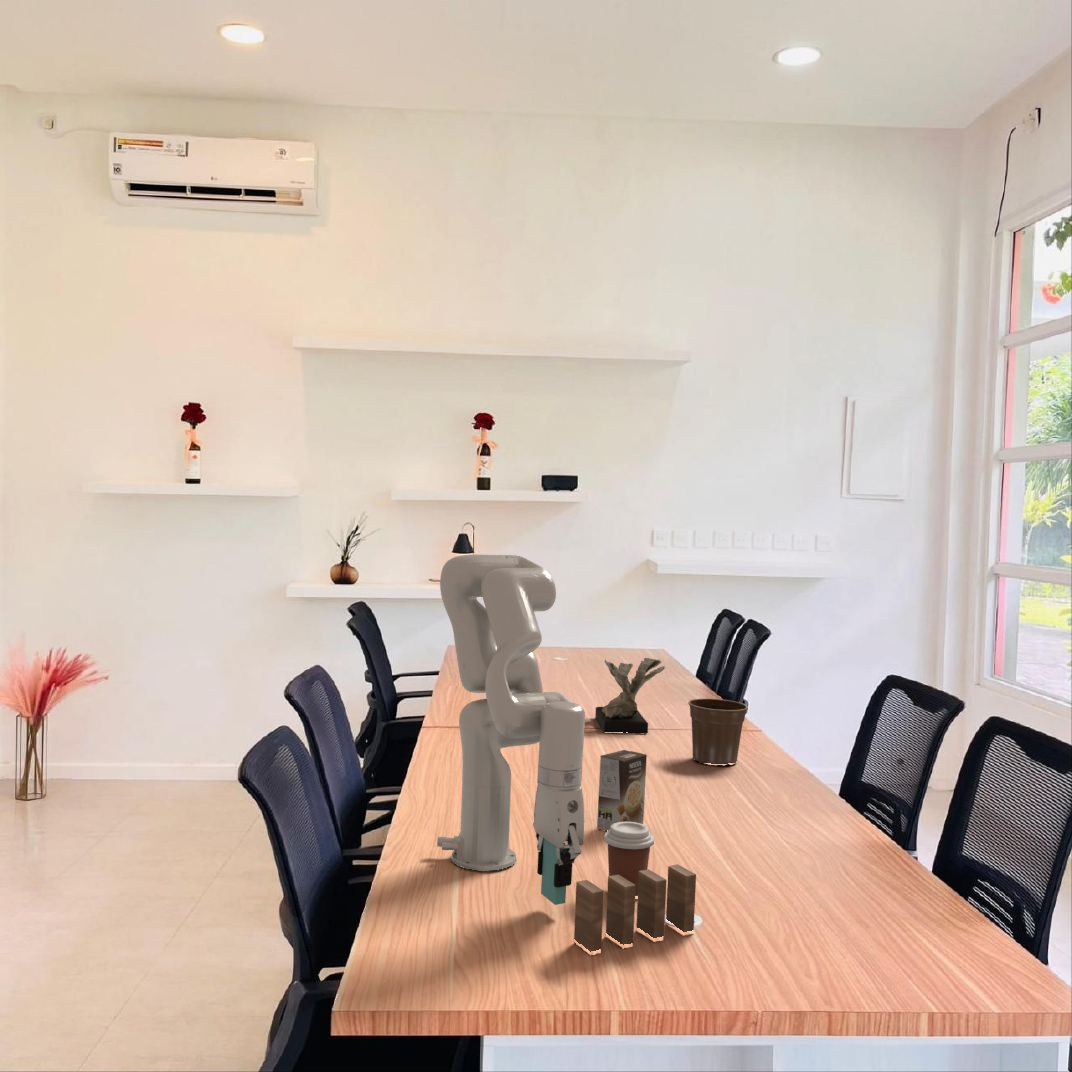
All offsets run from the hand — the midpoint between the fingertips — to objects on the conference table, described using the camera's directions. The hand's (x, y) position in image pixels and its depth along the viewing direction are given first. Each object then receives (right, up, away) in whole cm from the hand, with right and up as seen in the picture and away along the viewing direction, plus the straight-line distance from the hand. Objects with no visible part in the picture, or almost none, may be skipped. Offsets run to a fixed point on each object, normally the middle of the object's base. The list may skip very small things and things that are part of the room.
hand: (554, 878), depth 175 cm
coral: (+27, -2, +151) cm, 153 cm away
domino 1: (+5, -7, -14) cm, 16 cm away
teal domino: (0, -3, 0) cm, 4 cm away
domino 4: (+21, -7, -5) cm, 22 cm away
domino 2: (+10, -7, -11) cm, 16 cm away
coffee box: (+15, -5, +47) cm, 50 cm away
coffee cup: (+13, -6, +10) cm, 18 cm away
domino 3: (+16, -7, -8) cm, 19 cm away
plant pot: (+47, -4, +108) cm, 118 cm away
